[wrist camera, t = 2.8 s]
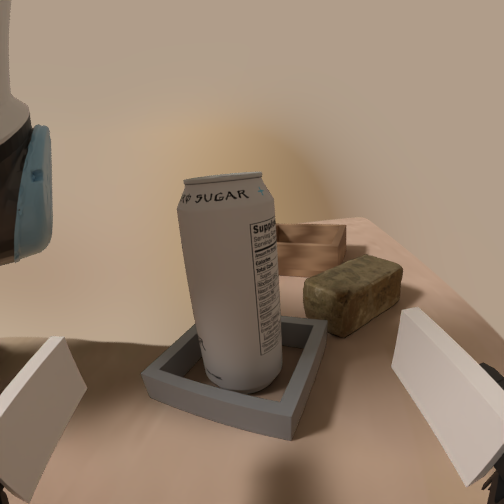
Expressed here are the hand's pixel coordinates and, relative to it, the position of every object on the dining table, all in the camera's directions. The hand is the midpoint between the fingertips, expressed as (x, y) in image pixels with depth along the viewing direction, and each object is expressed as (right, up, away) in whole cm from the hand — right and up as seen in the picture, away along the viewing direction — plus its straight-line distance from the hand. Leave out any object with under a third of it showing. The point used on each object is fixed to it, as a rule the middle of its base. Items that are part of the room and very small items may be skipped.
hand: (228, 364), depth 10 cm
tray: (0, -6, +12) cm, 13 cm away
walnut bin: (+9, +3, +36) cm, 37 cm away
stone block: (+12, -3, +20) cm, 23 cm away
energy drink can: (0, -6, +12) cm, 13 cm away
